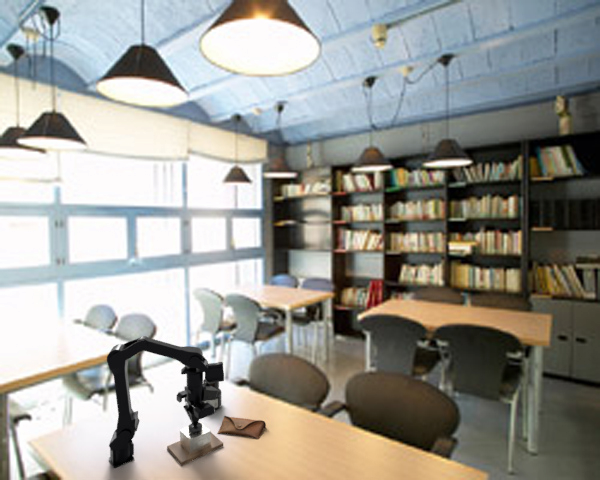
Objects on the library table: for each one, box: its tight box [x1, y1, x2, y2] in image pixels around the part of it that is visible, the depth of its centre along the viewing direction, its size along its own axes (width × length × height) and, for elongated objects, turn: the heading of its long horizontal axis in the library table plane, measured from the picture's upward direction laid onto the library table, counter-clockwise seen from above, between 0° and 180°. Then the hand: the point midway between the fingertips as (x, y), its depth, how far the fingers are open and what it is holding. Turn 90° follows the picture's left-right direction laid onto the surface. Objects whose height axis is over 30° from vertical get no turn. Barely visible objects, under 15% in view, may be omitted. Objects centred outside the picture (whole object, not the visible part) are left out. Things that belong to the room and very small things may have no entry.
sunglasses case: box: [217, 415, 267, 440], centre depth 143 cm, size 18×7×7 cm, turn 79°
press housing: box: [179, 421, 212, 454], centre depth 131 cm, size 8×8×5 cm
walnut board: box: [166, 432, 224, 467], centre depth 131 cm, size 16×12×1 cm
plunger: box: [187, 421, 203, 433], centre depth 131 cm, size 5×5×6 cm
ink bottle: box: [203, 378, 222, 411], centre depth 161 cm, size 10×9×12 cm
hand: (195, 425), depth 131 cm, fingers closed, pressing on plunger
